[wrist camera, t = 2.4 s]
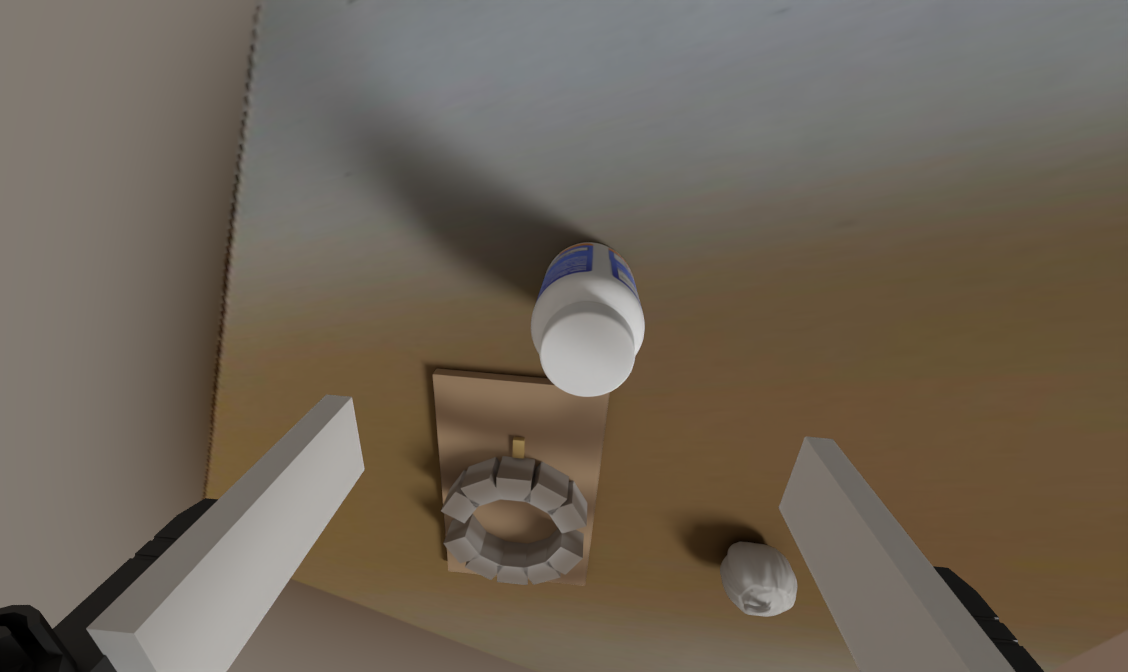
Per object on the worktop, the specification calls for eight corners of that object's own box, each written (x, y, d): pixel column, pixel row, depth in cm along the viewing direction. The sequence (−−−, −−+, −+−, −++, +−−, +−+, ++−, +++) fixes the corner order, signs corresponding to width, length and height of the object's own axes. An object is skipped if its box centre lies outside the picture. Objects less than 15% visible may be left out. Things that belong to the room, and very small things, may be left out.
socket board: (436, 368, 30) (420, 391, 27) (609, 383, 29) (610, 409, 27) (451, 562, 39) (440, 595, 36) (585, 577, 38) (584, 611, 35)
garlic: (697, 555, 36) (712, 619, 31) (743, 518, 34) (766, 580, 29) (752, 584, 37) (775, 650, 32) (799, 550, 35) (831, 615, 30)
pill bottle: (538, 313, 28) (510, 397, 19) (554, 230, 25) (532, 283, 17) (620, 332, 28) (630, 424, 19) (644, 251, 25) (669, 314, 17)
